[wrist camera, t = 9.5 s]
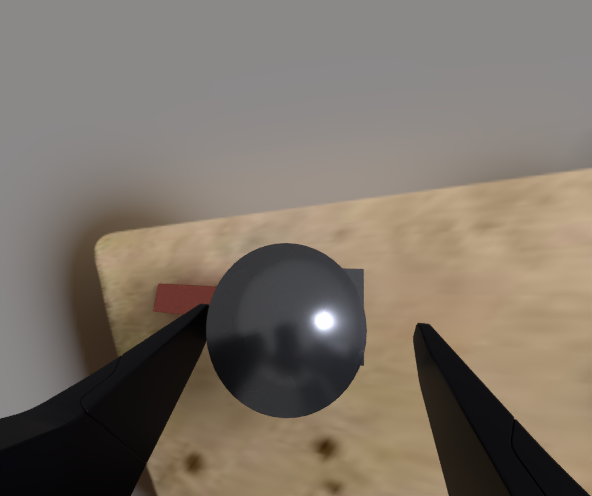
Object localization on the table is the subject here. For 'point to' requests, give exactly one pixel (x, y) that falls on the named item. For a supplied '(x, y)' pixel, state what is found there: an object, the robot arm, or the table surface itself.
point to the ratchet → (181, 297)
